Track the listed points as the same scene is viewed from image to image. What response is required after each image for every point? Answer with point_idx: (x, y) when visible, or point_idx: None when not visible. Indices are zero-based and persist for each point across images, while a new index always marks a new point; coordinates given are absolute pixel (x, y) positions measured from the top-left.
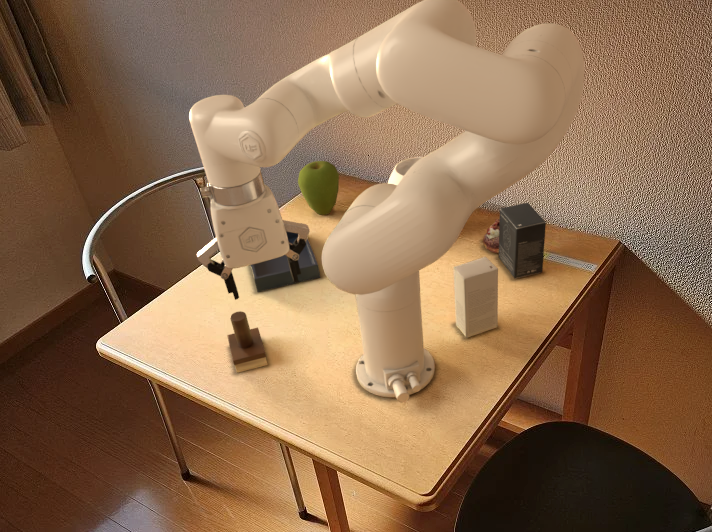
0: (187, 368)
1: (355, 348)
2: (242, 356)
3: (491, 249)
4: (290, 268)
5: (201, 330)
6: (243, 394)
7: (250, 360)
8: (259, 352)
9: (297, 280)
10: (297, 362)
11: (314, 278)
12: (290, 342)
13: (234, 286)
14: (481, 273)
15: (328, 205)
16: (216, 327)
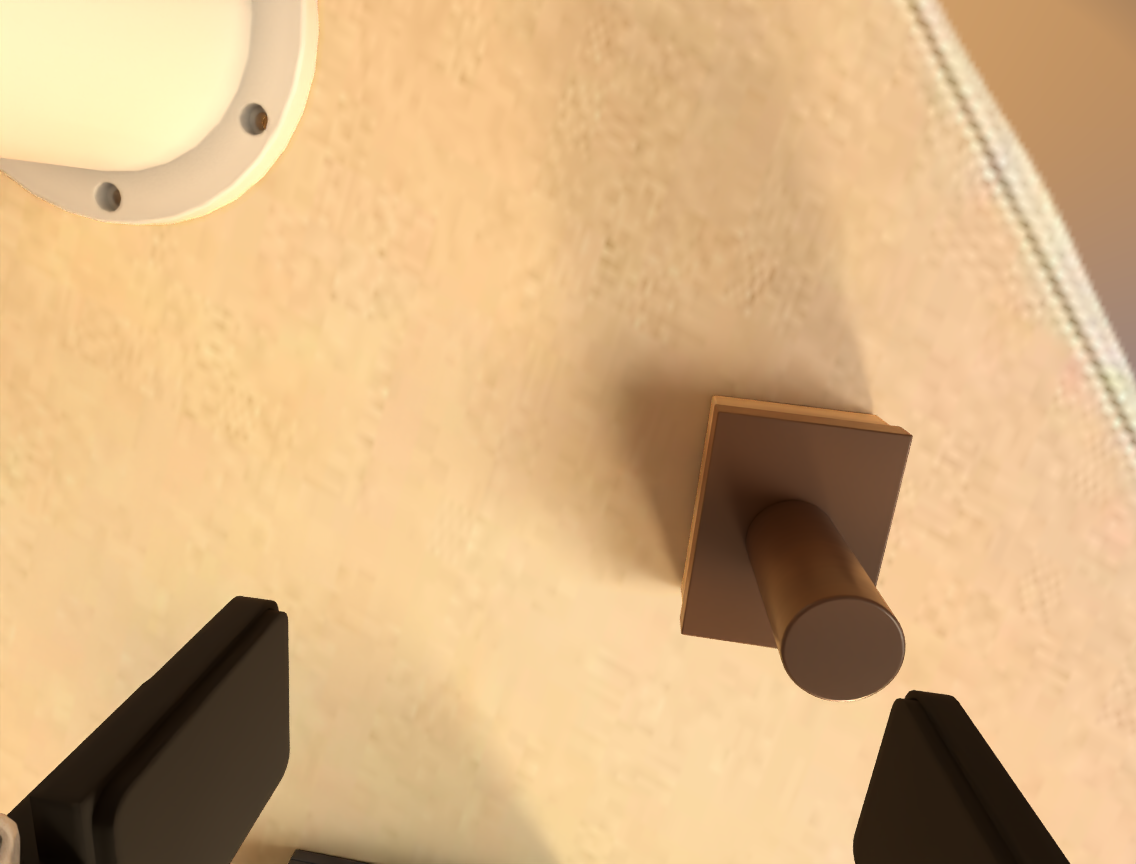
0: (1095, 578)
1: (271, 296)
2: (847, 444)
3: None
4: (209, 775)
5: None
6: (911, 231)
7: (806, 415)
8: (746, 428)
9: (234, 609)
10: (566, 338)
11: (320, 856)
12: (552, 502)
13: (989, 825)
14: None
15: None
16: (843, 784)
